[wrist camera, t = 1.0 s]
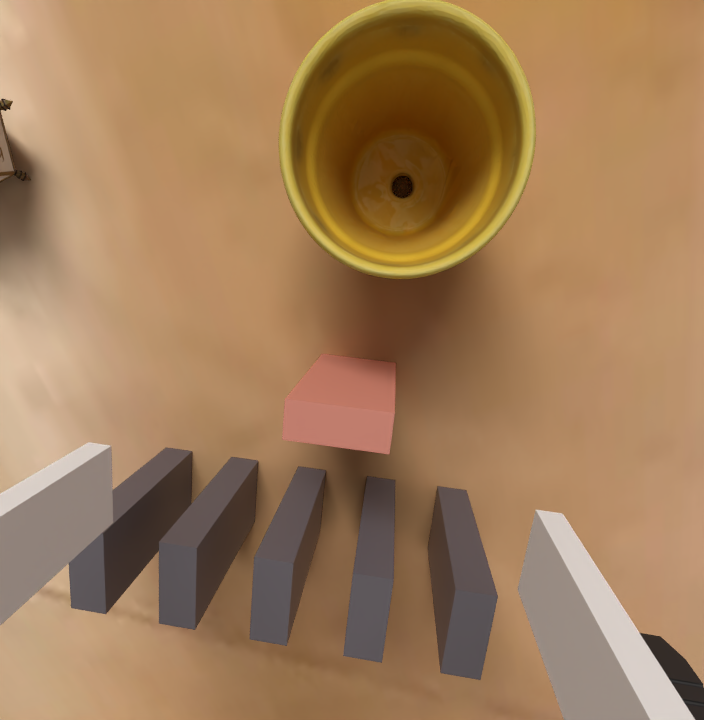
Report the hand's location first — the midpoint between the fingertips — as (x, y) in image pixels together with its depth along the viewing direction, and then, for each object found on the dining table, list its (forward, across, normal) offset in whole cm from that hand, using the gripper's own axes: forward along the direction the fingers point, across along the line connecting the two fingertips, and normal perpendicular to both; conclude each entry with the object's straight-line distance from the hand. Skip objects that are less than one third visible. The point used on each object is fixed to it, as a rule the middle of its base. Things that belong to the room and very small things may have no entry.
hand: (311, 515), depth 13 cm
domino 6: (+17, +7, -10) cm, 21 cm away
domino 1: (+17, -13, -10) cm, 23 cm away
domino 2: (+17, -8, -10) cm, 21 cm away
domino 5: (+17, +2, -10) cm, 20 cm away
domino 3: (+17, -3, -10) cm, 20 cm away
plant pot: (+17, +1, +12) cm, 21 cm away
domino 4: (+17, 0, 0) cm, 17 cm away
